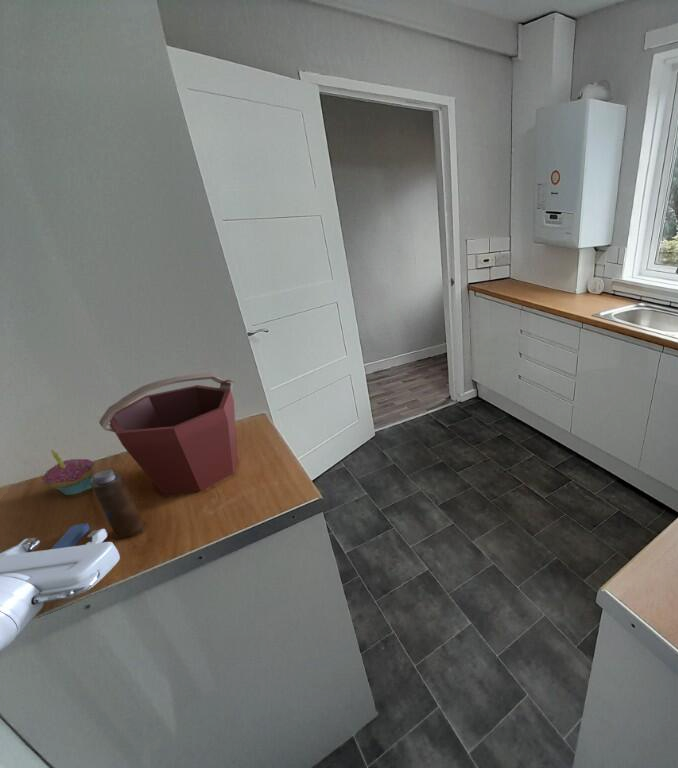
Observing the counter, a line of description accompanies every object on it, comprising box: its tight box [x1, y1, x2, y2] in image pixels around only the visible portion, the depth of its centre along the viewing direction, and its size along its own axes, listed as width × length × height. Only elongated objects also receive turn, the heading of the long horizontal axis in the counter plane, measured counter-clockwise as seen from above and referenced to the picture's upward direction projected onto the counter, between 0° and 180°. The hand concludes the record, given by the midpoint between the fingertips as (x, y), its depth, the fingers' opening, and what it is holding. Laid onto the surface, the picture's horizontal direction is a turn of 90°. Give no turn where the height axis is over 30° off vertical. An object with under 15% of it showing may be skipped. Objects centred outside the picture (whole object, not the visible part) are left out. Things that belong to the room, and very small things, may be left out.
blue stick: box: [51, 522, 91, 549], centre depth 77 cm, size 10×2×2 cm, turn 18°
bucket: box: [98, 372, 238, 496], centre depth 95 cm, size 24×22×25 cm
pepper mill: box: [91, 469, 145, 539], centre depth 80 cm, size 4×4×14 cm
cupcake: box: [42, 449, 98, 496], centre depth 92 cm, size 9×8×12 cm
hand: (68, 536), depth 69 cm, fingers open, 8 cm apart
